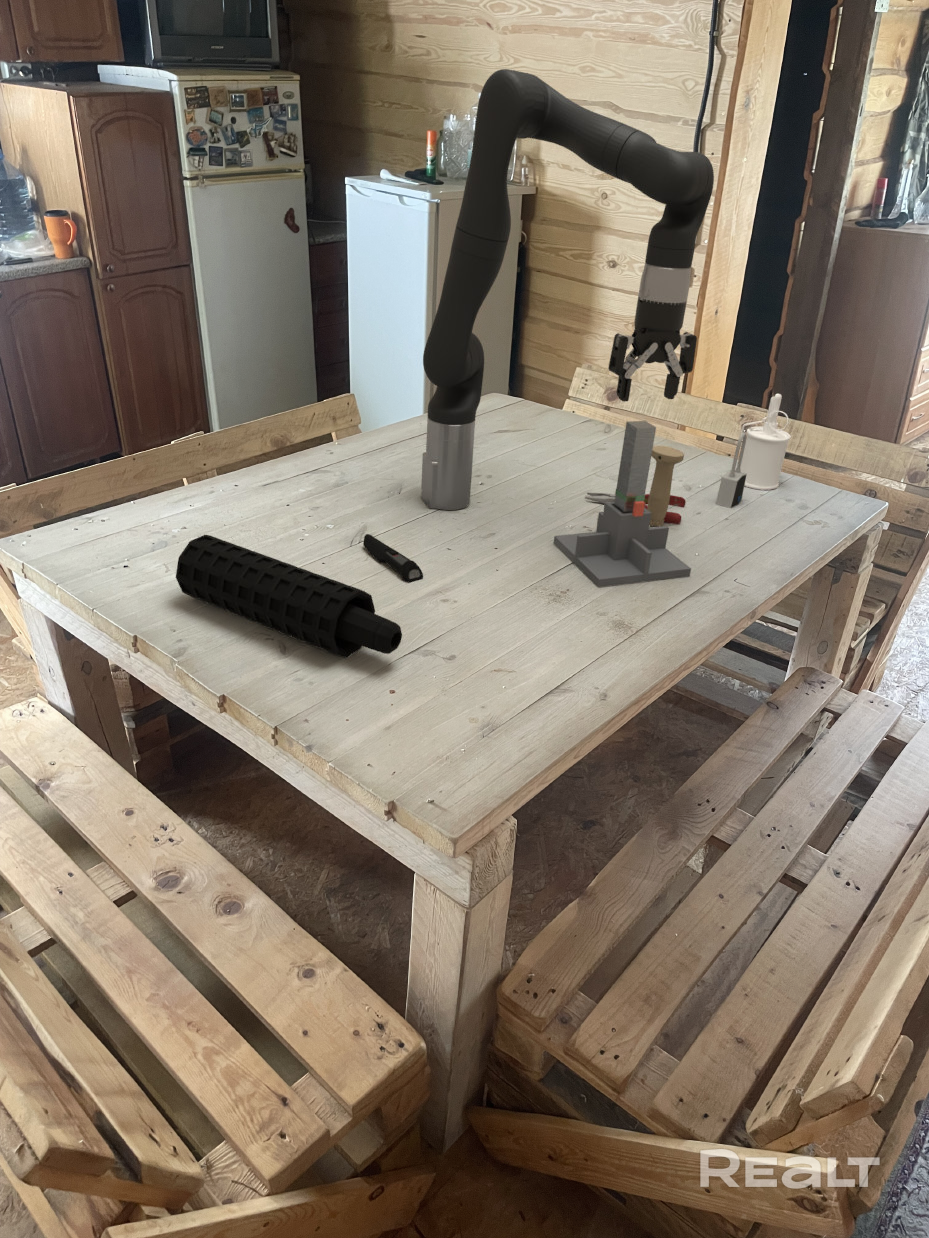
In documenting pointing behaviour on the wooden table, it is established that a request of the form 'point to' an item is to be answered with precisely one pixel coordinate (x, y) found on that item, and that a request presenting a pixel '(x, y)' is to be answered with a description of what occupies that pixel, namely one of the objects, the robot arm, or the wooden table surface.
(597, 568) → the stand
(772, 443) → the white oil can
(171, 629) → the wooden table surface
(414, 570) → the electric trimmer
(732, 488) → the padlock
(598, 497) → the pliers
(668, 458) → the handle
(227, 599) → the roller
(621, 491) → the column
